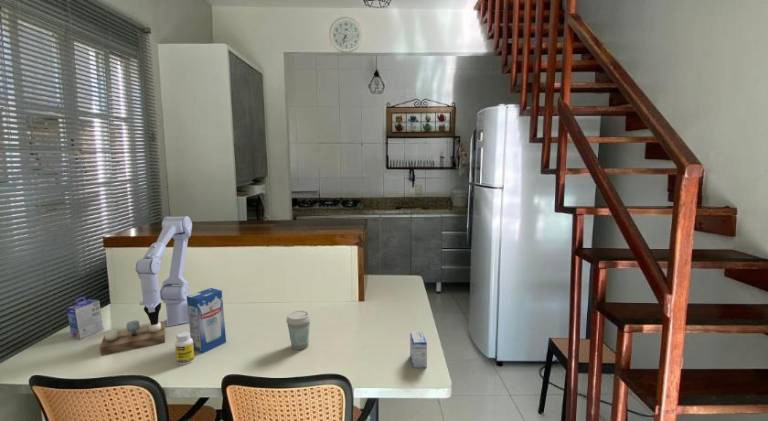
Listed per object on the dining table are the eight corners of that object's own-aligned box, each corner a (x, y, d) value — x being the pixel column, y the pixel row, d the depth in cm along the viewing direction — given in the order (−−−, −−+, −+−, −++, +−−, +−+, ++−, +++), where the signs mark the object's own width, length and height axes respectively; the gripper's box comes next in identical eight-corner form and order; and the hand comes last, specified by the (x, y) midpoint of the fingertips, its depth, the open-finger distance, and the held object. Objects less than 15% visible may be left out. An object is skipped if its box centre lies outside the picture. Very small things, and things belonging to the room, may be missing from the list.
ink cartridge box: (94, 327, 172) (89, 293, 169) (104, 328, 170) (99, 294, 168) (69, 337, 162) (64, 302, 160) (80, 339, 161) (74, 303, 158)
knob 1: (119, 340, 156) (118, 328, 156) (118, 344, 153) (117, 333, 152) (106, 342, 155) (105, 331, 154) (105, 347, 151) (103, 335, 150)
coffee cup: (291, 354, 145) (289, 321, 143) (285, 344, 153) (283, 313, 151) (315, 348, 149) (313, 316, 147) (308, 338, 157) (306, 308, 155)
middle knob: (140, 330, 159) (139, 319, 159) (139, 334, 156) (138, 323, 155) (128, 333, 157) (126, 322, 157) (127, 337, 154) (125, 325, 153)
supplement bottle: (176, 366, 139) (173, 338, 137) (177, 359, 144) (174, 332, 142) (194, 362, 141) (191, 335, 139) (194, 355, 146) (192, 329, 144)
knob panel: (165, 330, 167) (164, 323, 166) (164, 342, 156) (164, 335, 156) (105, 341, 158) (104, 334, 158) (101, 355, 147) (99, 347, 147)
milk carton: (202, 353, 147) (197, 299, 144) (191, 349, 150) (186, 296, 147) (226, 342, 156) (221, 290, 152) (215, 338, 159) (211, 287, 156)
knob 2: (161, 331, 163) (160, 321, 162) (161, 335, 159) (160, 324, 158) (150, 334, 161) (148, 323, 160) (149, 338, 157) (148, 327, 157)
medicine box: (410, 356, 142) (409, 331, 141) (423, 355, 143) (422, 331, 141) (413, 368, 134) (413, 342, 133) (427, 367, 135) (427, 342, 133)
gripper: (139, 285, 162) (143, 319, 164) (137, 297, 149) (141, 333, 151) (160, 282, 165) (163, 315, 167) (159, 294, 152) (163, 329, 154)
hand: (154, 323), depth 159 cm, fingers closed
